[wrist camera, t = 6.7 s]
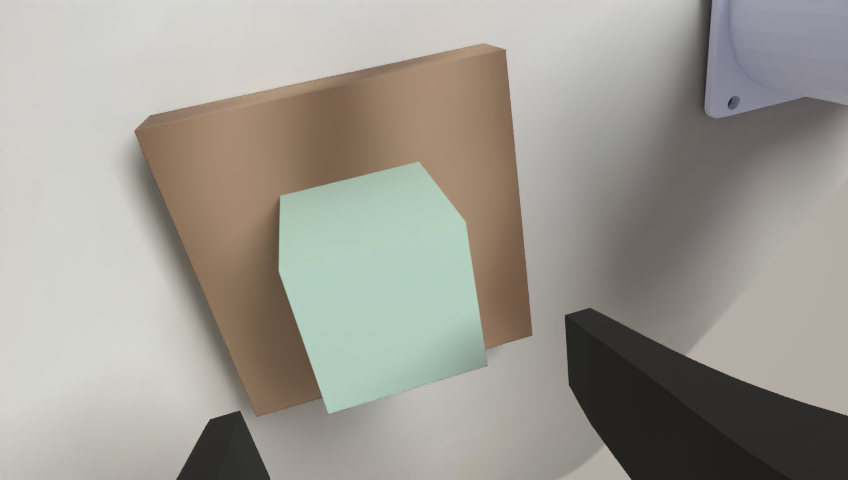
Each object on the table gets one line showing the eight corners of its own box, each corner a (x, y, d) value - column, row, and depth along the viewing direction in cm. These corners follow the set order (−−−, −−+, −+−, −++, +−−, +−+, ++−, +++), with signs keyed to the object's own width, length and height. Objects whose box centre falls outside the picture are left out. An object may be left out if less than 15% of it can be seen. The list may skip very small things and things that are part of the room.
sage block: (419, 161, 17) (465, 222, 13) (440, 279, 19) (487, 365, 15) (279, 195, 17) (278, 271, 12) (317, 313, 19) (328, 413, 14)
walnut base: (484, 43, 18) (505, 49, 16) (513, 308, 23) (532, 335, 21) (149, 115, 17) (134, 131, 15) (258, 382, 22) (256, 416, 20)
